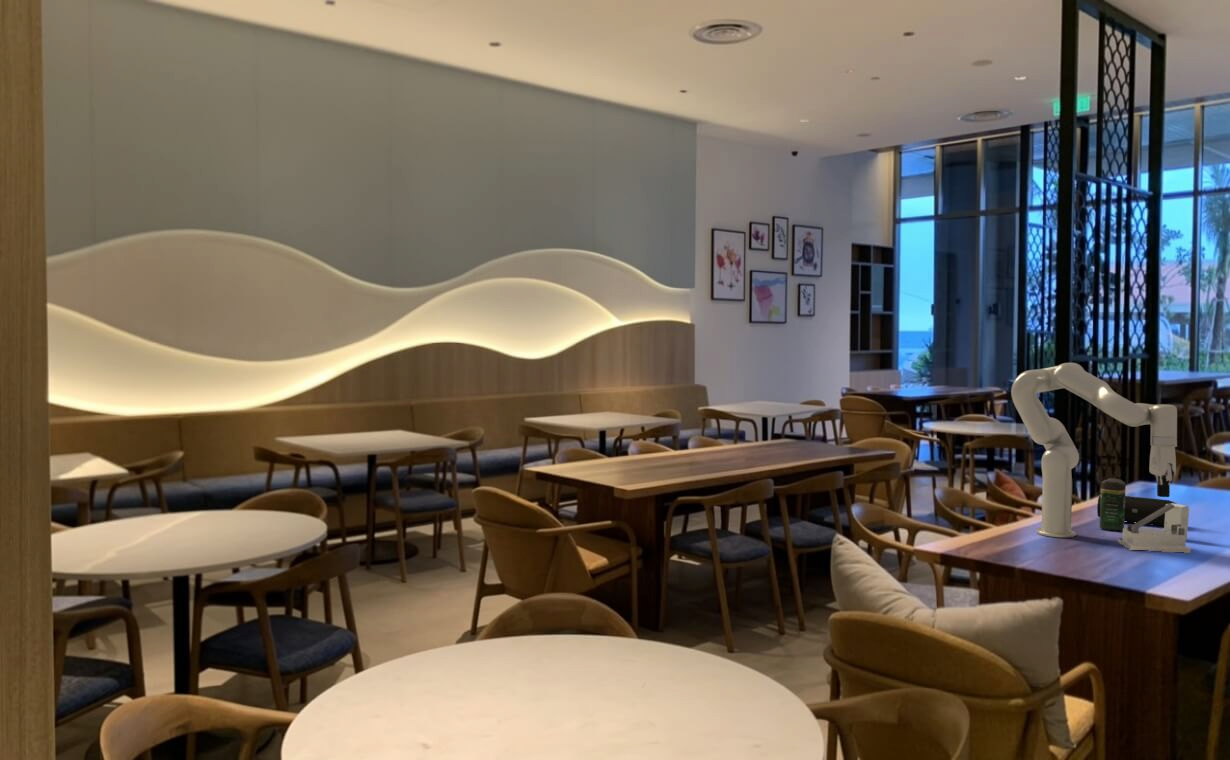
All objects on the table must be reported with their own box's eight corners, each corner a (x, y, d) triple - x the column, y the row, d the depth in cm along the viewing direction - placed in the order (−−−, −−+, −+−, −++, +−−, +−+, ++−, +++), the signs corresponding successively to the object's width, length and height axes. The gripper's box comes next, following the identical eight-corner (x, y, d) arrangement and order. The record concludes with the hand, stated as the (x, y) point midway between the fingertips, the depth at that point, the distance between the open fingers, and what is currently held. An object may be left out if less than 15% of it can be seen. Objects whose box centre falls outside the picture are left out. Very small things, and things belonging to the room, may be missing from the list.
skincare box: (1162, 538, 318) (1163, 503, 318) (1170, 536, 320) (1171, 502, 320) (1180, 541, 313) (1181, 506, 312) (1188, 540, 315) (1189, 505, 314)
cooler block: (1117, 542, 311) (1118, 520, 311) (1175, 545, 308) (1175, 523, 307) (1130, 550, 299) (1131, 528, 299) (1190, 553, 296) (1191, 530, 295)
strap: (1130, 529, 306) (1128, 526, 306) (1171, 505, 303) (1169, 502, 303) (1133, 531, 303) (1132, 528, 303) (1175, 507, 300) (1173, 504, 300)
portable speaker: (1096, 521, 349) (1097, 495, 348) (1101, 517, 356) (1101, 492, 356) (1173, 529, 333) (1174, 502, 333) (1176, 525, 341) (1177, 499, 341)
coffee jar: (1122, 532, 327) (1124, 481, 326) (1098, 530, 332) (1099, 479, 331) (1125, 528, 335) (1127, 478, 334) (1101, 525, 340) (1103, 476, 339)
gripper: (1142, 439, 309) (1142, 492, 310) (1160, 443, 295) (1160, 500, 295) (1166, 439, 308) (1166, 493, 308) (1185, 444, 293) (1185, 500, 294)
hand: (1163, 496), depth 302 cm, fingers closed
